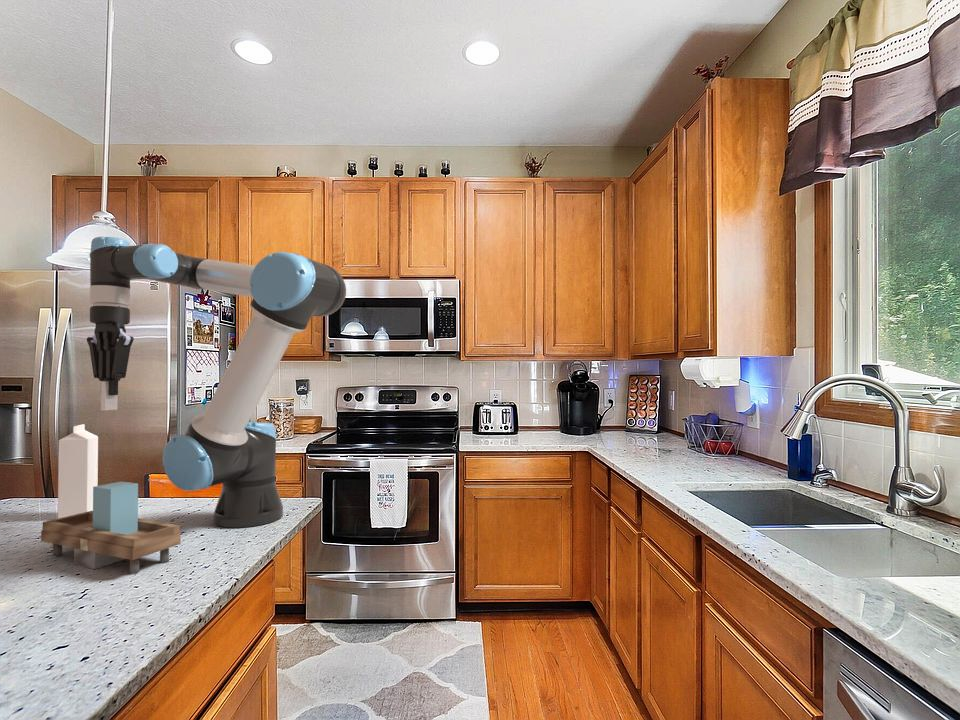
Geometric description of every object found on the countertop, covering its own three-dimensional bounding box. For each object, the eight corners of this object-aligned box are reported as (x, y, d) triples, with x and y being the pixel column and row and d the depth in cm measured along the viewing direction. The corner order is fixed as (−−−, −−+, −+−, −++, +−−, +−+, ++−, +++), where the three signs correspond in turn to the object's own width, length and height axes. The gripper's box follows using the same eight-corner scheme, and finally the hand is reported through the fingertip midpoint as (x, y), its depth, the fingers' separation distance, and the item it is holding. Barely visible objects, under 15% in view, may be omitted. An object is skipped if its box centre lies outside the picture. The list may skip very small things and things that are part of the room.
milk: (57, 520, 124) (57, 426, 124) (69, 513, 130) (69, 424, 130) (87, 518, 126) (87, 425, 126) (98, 511, 131) (98, 423, 132)
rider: (92, 535, 97) (93, 486, 97) (120, 528, 101) (120, 481, 101) (110, 539, 95) (110, 489, 95) (137, 531, 99) (138, 483, 99)
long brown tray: (40, 557, 100) (40, 522, 100) (92, 542, 108) (92, 510, 108) (131, 578, 90) (132, 539, 90) (180, 559, 98) (181, 524, 98)
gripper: (145, 307, 121) (144, 409, 121) (108, 309, 126) (107, 407, 126) (112, 303, 114) (110, 412, 114) (74, 306, 119) (73, 410, 119)
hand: (109, 409), depth 120 cm, fingers closed
